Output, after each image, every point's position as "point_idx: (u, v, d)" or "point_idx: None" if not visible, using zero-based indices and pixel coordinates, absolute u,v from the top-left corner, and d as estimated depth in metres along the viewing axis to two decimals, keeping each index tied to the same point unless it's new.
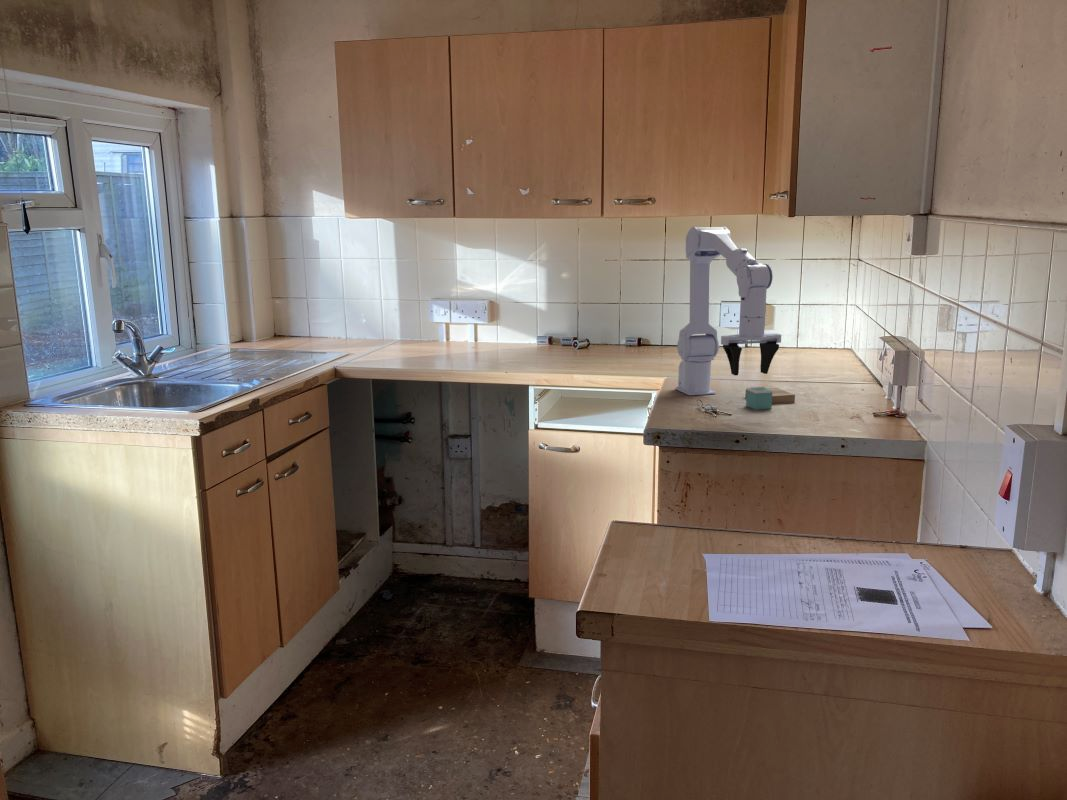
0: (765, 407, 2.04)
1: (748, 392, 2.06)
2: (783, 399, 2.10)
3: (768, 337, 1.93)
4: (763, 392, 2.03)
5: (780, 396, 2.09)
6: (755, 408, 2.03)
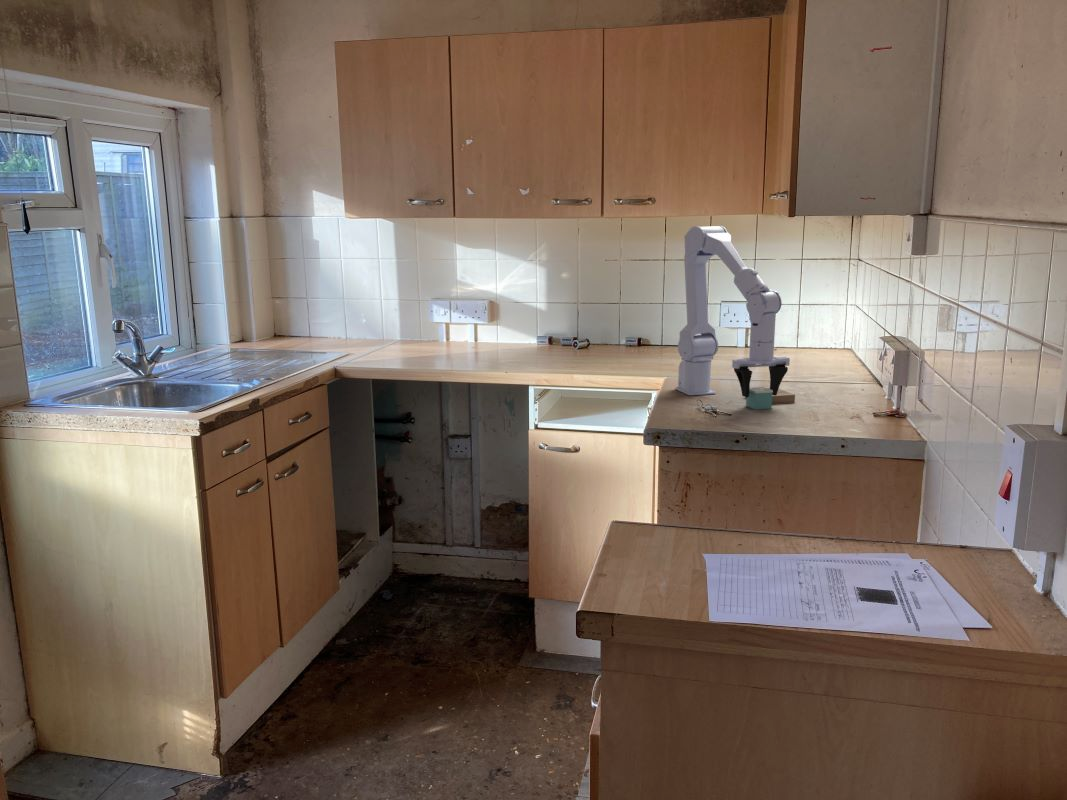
0: (765, 407, 2.04)
1: None
2: (783, 399, 2.10)
3: (777, 360, 2.02)
4: (763, 392, 2.03)
5: (780, 396, 2.09)
6: (755, 408, 2.03)
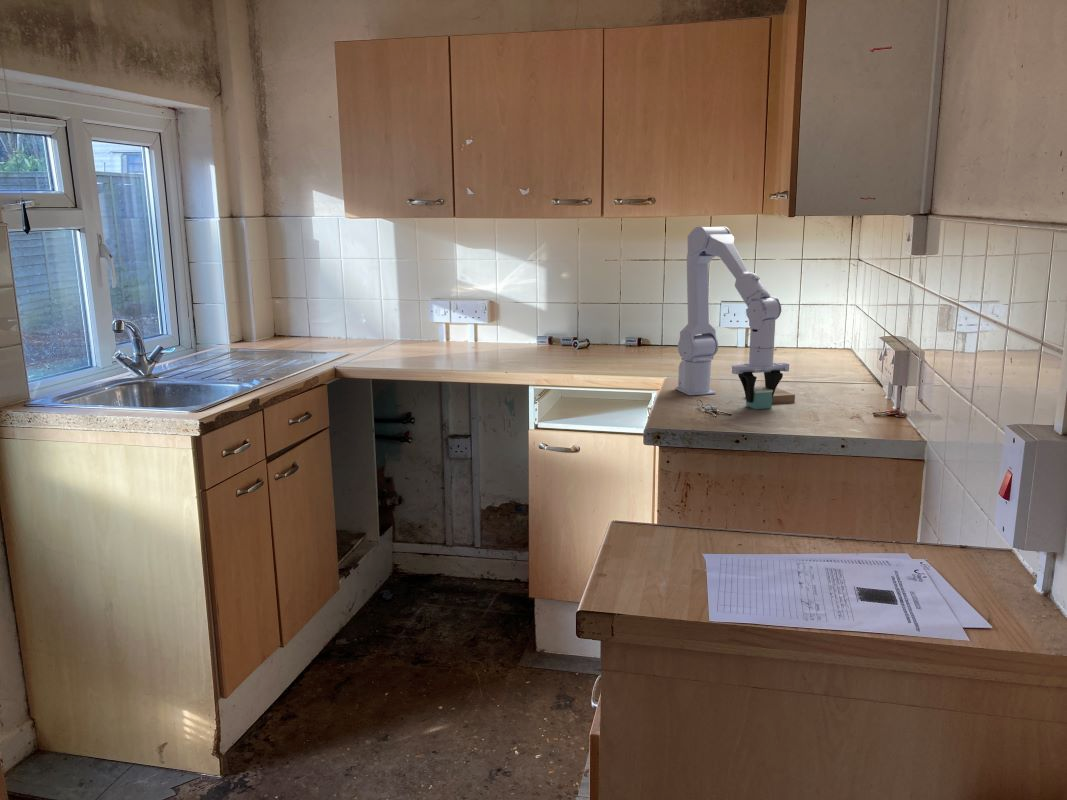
0: (765, 407, 2.04)
1: None
2: (783, 399, 2.10)
3: (777, 366, 2.02)
4: (763, 392, 2.03)
5: (780, 396, 2.09)
6: (755, 408, 2.03)
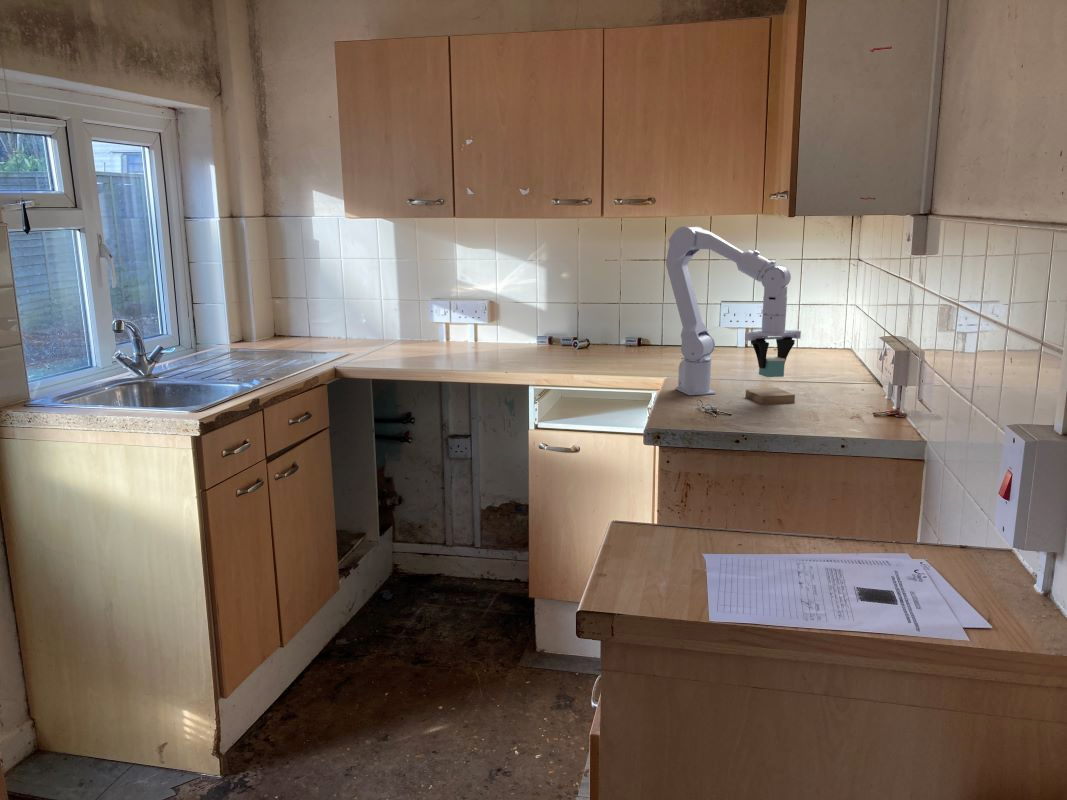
0: (777, 375, 2.10)
1: None
2: (783, 399, 2.10)
3: (789, 333, 2.09)
4: (776, 360, 2.09)
5: (780, 396, 2.09)
6: (768, 376, 2.09)
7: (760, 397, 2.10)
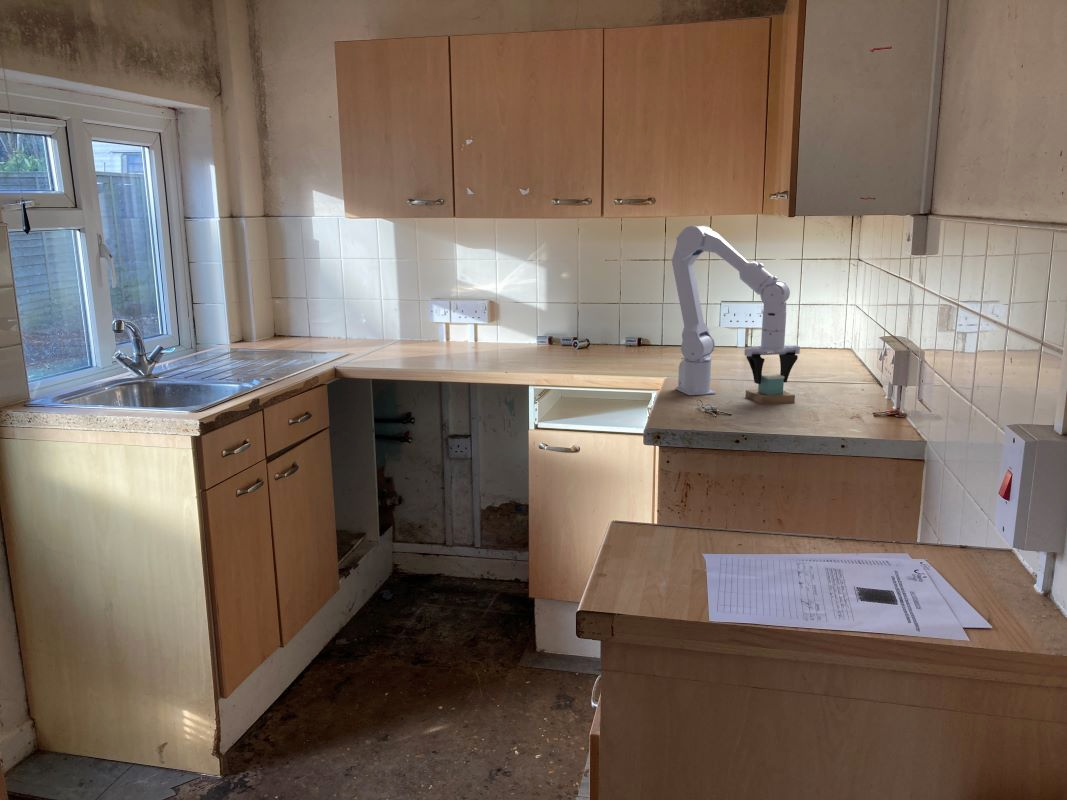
0: (777, 393, 2.11)
1: None
2: (783, 399, 2.10)
3: (788, 349, 2.10)
4: (775, 378, 2.10)
5: (780, 396, 2.09)
6: (767, 393, 2.11)
7: (759, 398, 2.10)
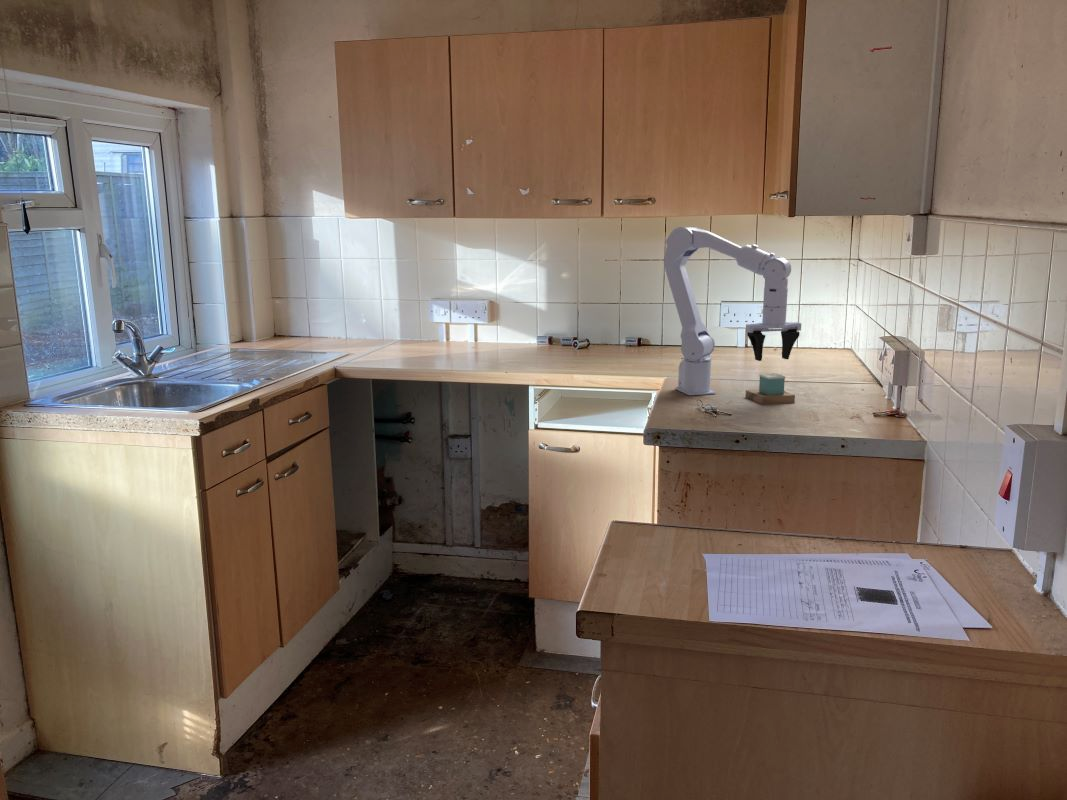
0: (778, 392, 2.11)
1: (761, 378, 2.13)
2: (783, 399, 2.10)
3: (789, 325, 2.09)
4: (776, 378, 2.10)
5: (780, 396, 2.09)
6: (768, 393, 2.11)
7: (759, 398, 2.10)
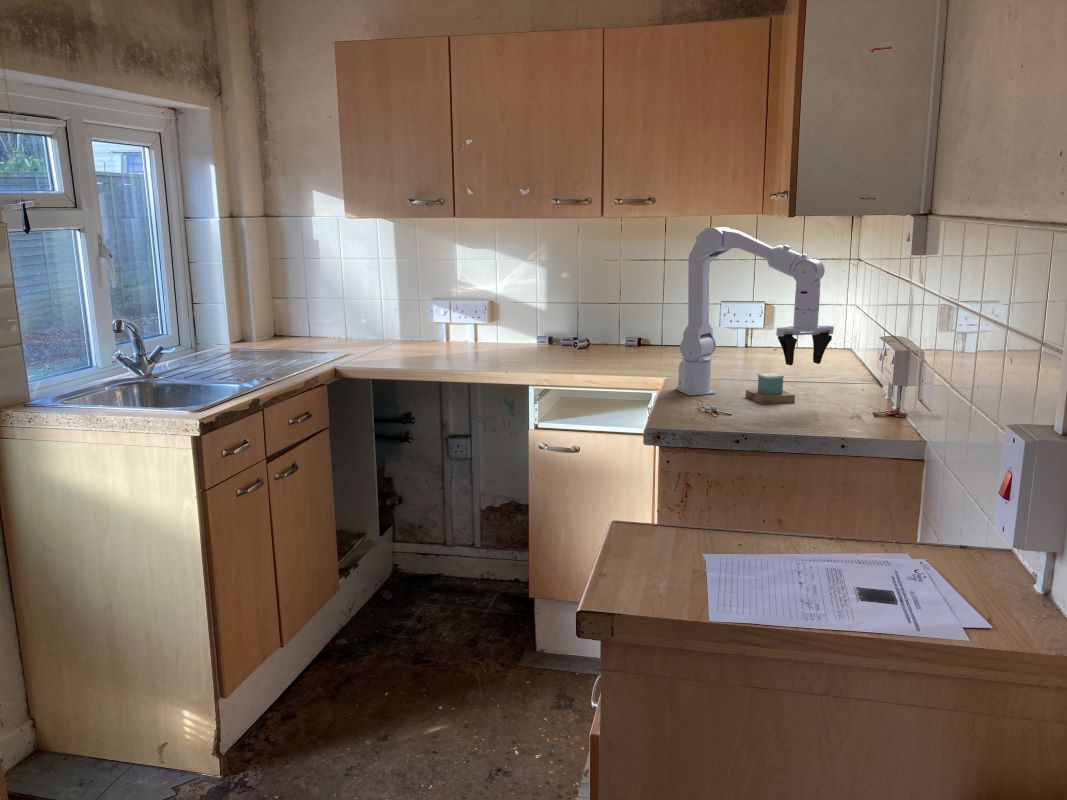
0: (776, 392, 2.11)
1: (760, 378, 2.13)
2: (783, 399, 2.10)
3: (821, 329, 2.02)
4: (774, 378, 2.10)
5: (780, 396, 2.09)
6: (767, 393, 2.11)
7: (759, 397, 2.10)
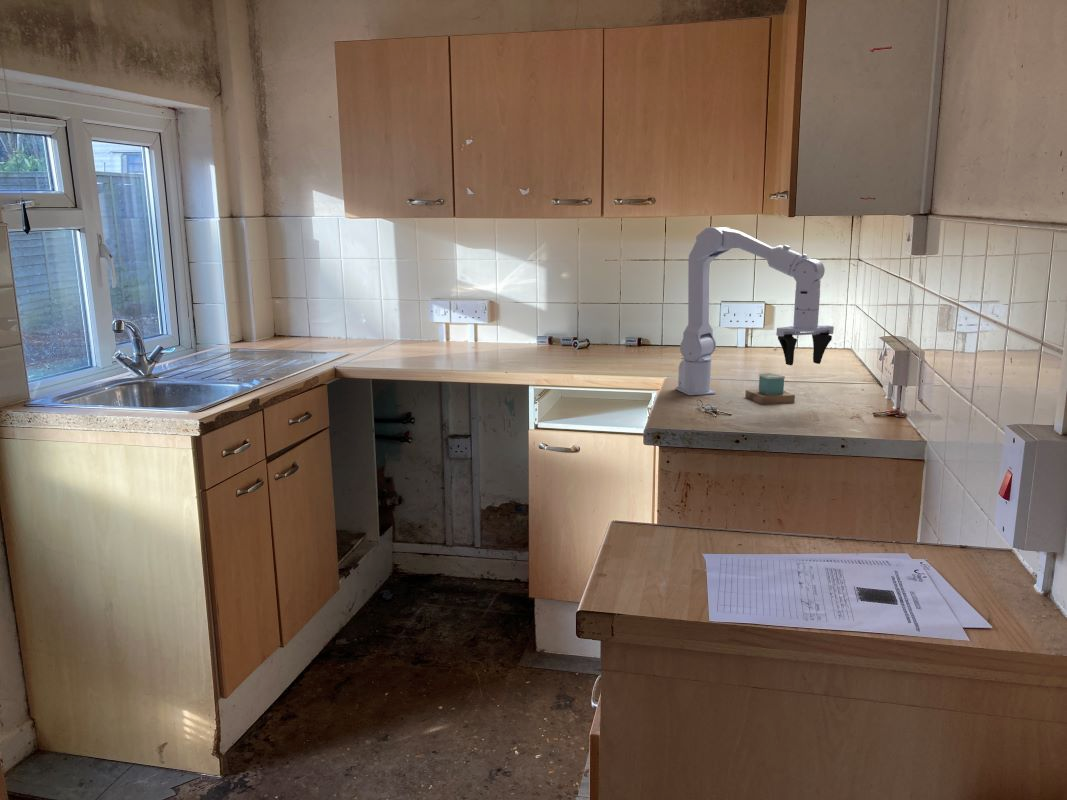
0: (777, 392, 2.11)
1: (761, 378, 2.13)
2: (783, 399, 2.10)
3: (821, 329, 2.02)
4: (775, 378, 2.10)
5: (780, 396, 2.10)
6: (767, 393, 2.11)
7: (759, 398, 2.10)
